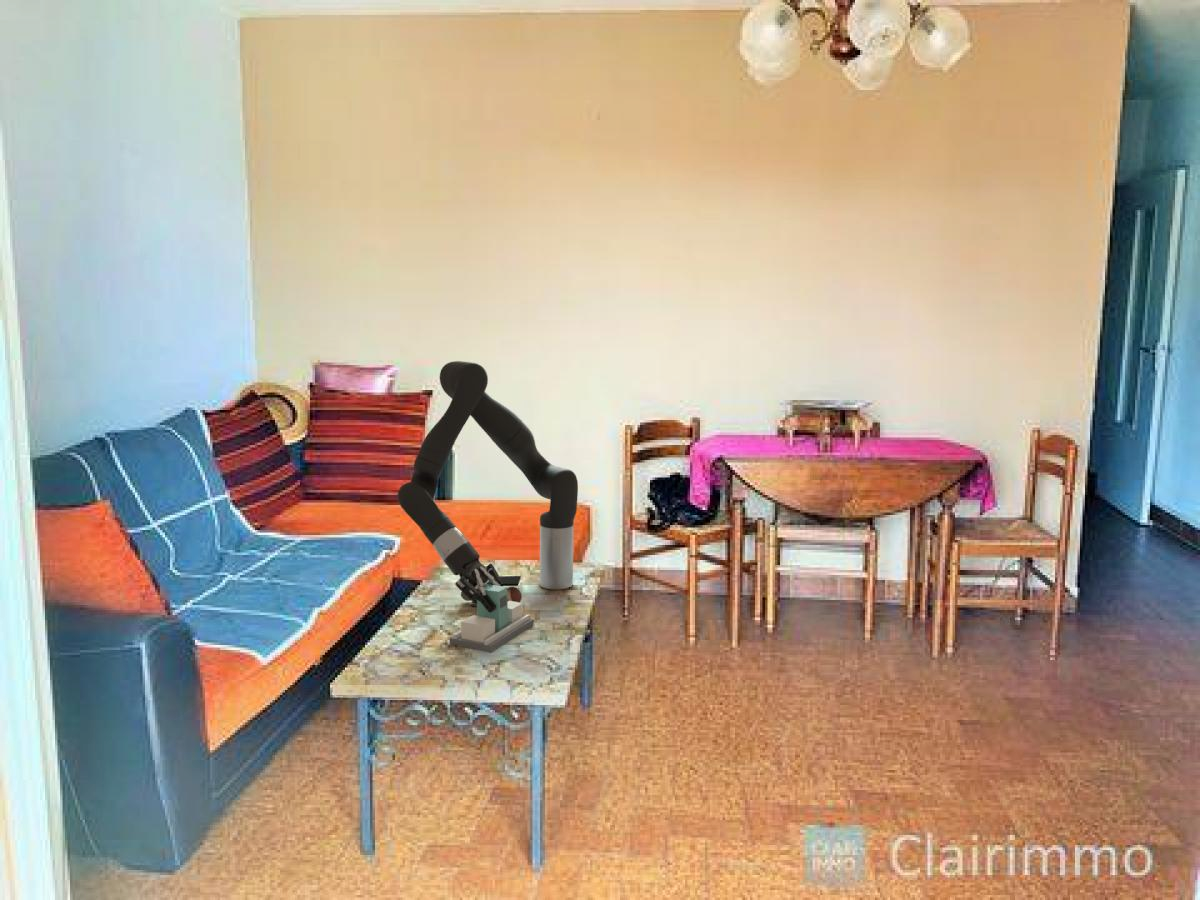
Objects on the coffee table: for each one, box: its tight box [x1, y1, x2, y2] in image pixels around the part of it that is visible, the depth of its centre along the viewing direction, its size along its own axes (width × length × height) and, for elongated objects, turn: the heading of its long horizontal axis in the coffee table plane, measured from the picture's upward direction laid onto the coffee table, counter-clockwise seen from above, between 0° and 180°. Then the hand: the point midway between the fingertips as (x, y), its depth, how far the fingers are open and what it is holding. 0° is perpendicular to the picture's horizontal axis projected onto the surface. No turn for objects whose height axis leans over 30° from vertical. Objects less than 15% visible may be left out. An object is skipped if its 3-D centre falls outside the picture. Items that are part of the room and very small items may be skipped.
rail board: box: [449, 613, 534, 653], centre depth 225 cm, size 20×11×2 cm, turn 155°
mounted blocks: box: [460, 601, 524, 643], centre depth 225 cm, size 18×6×4 cm, turn 155°
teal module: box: [476, 584, 508, 633], centre depth 224 cm, size 4×6×10 cm, turn 66°
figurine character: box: [460, 575, 523, 607], centre depth 246 cm, size 7×8×15 cm
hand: (499, 606), depth 224 cm, fingers open, 5 cm apart
